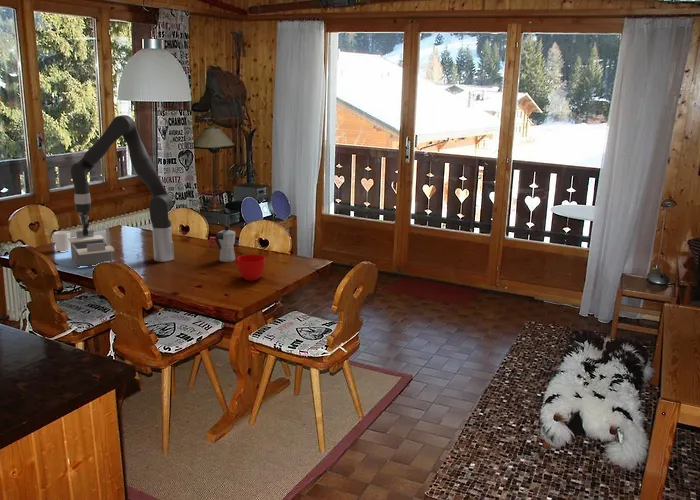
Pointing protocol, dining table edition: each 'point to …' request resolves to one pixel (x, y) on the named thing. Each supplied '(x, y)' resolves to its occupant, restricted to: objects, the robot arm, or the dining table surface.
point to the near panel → (84, 251)
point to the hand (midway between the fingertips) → (85, 235)
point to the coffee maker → (226, 244)
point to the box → (89, 258)
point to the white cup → (62, 240)
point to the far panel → (85, 237)
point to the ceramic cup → (250, 266)
